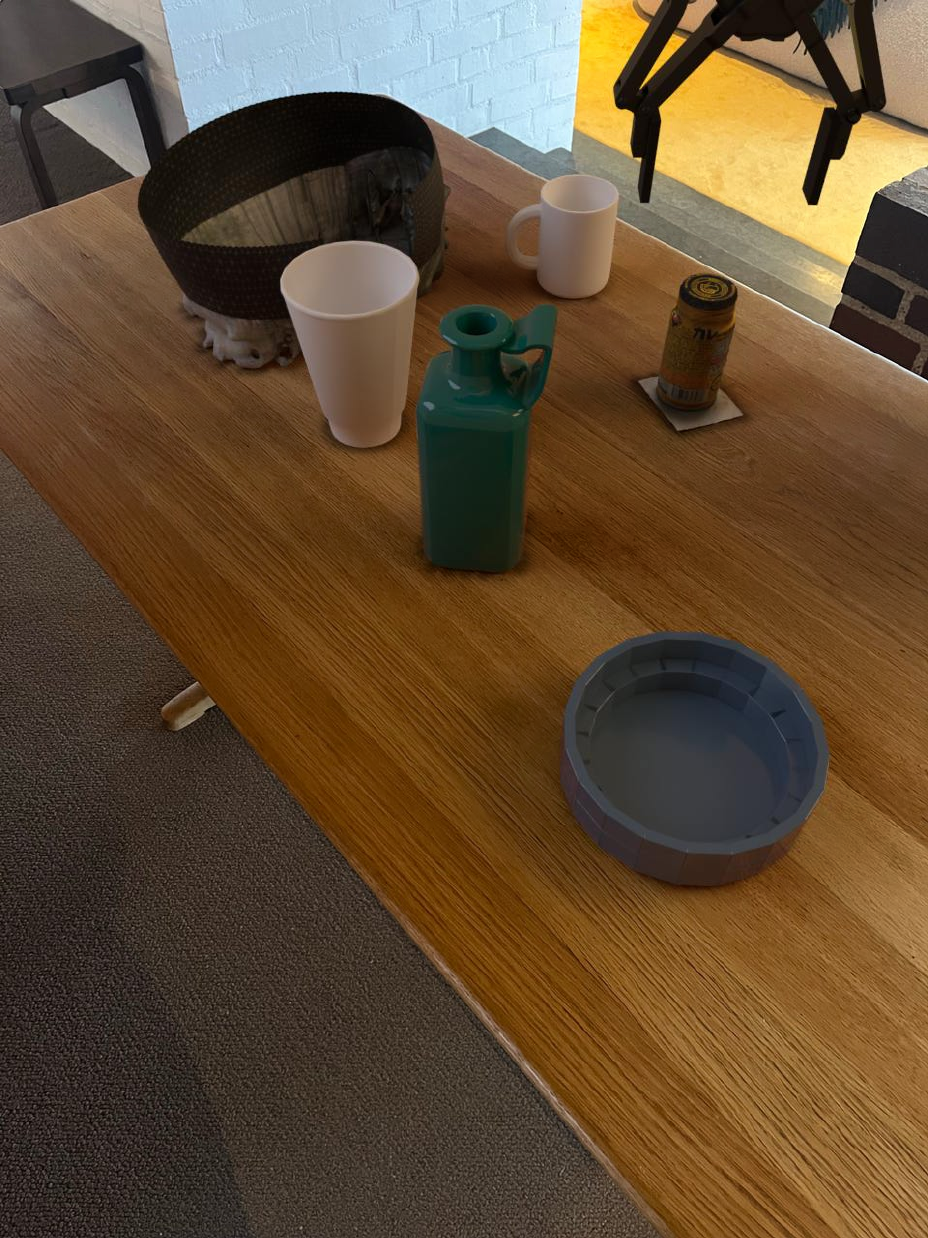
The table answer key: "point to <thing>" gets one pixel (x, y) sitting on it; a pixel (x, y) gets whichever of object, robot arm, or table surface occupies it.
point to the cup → (355, 333)
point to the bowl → (691, 757)
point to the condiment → (696, 354)
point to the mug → (570, 235)
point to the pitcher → (480, 435)
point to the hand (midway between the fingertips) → (726, 196)
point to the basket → (289, 207)
